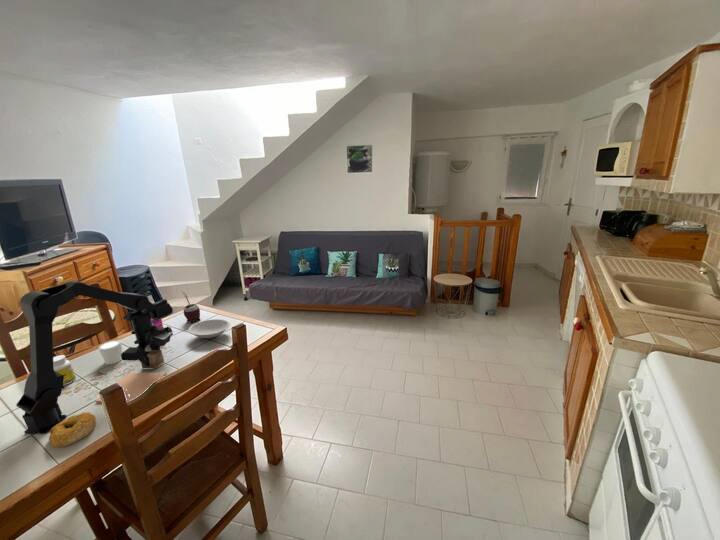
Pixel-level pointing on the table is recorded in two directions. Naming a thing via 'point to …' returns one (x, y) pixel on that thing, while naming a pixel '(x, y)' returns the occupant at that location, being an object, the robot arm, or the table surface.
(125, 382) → the tile mat
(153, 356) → the walnut cube
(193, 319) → the mate gourd
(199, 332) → the dish
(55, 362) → the supplement bottle
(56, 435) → the bagel
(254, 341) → the table surface
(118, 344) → the white cup
